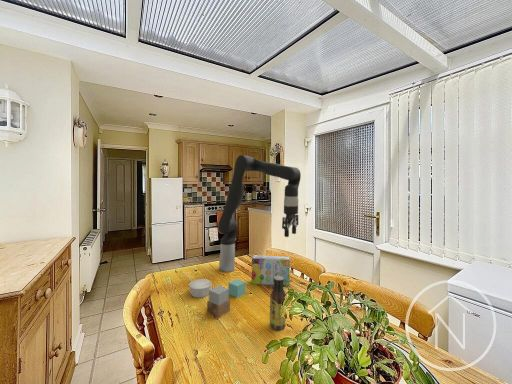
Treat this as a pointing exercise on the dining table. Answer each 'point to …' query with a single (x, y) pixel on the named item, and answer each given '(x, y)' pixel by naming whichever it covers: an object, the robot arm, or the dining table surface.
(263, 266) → the snack box
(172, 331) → the dining table surface
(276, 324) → the sauce bottle
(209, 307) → the tower base
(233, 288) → the teal cube
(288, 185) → the robot arm
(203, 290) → the ramekin
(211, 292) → the block
